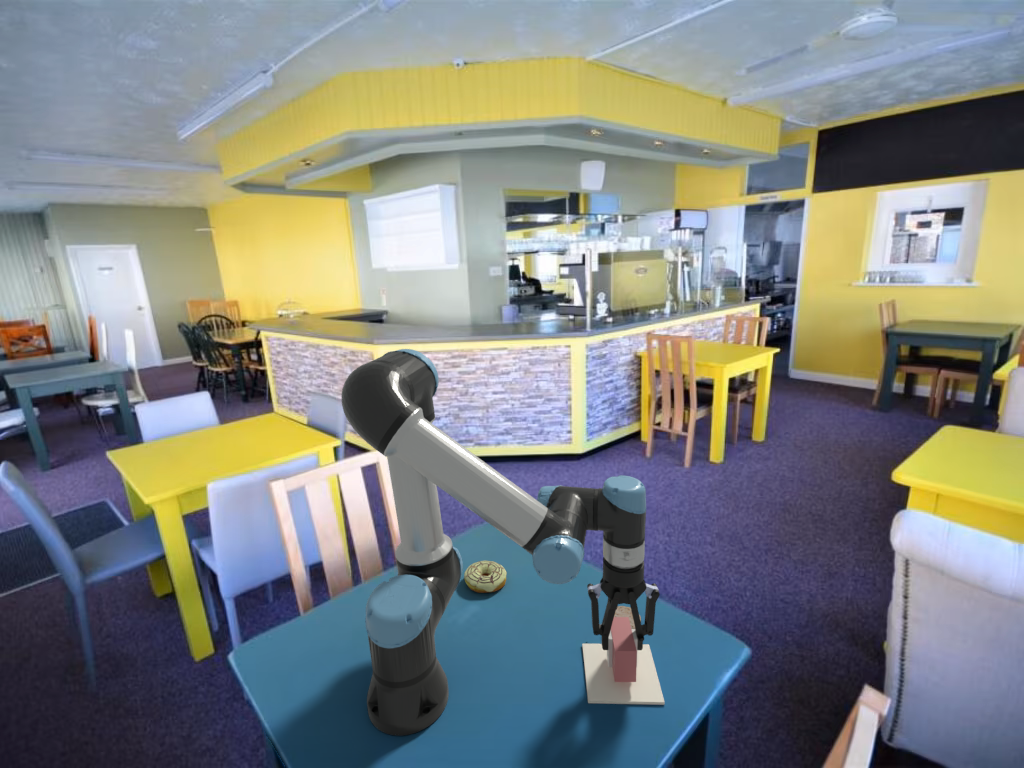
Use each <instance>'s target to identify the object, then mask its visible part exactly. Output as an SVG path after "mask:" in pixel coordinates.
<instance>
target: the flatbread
mask: <svg viewBox="0 0 1024 768" xmlns="http://www.w3.org/2000/svg"><path fill="white" fill-rule="evenodd" d="M614 617H629V621H630V625H631V629H635V625H634V620H633V616H632V611H631V607H630V606H624V605H618V606H617V610H616V611H615V615H614ZM639 617H640V621H641V622H642V617H641V615H640V613H639Z"/></svg>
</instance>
